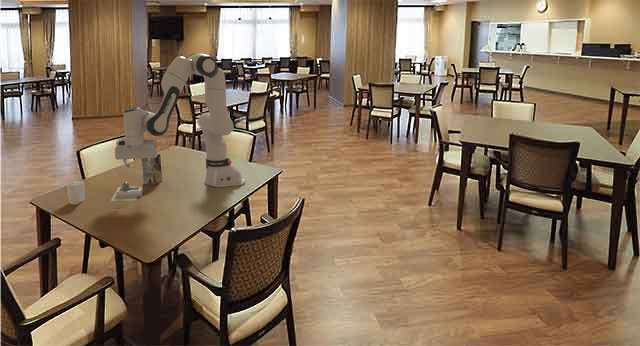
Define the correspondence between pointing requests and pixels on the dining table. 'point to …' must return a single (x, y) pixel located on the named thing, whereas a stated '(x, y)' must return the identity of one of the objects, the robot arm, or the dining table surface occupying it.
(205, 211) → the dining table surface
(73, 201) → the white cup
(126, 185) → the post
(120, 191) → the rectangular frame
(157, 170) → the coffee box
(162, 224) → the dining table surface
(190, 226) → the dining table surface
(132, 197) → the keeper plate
